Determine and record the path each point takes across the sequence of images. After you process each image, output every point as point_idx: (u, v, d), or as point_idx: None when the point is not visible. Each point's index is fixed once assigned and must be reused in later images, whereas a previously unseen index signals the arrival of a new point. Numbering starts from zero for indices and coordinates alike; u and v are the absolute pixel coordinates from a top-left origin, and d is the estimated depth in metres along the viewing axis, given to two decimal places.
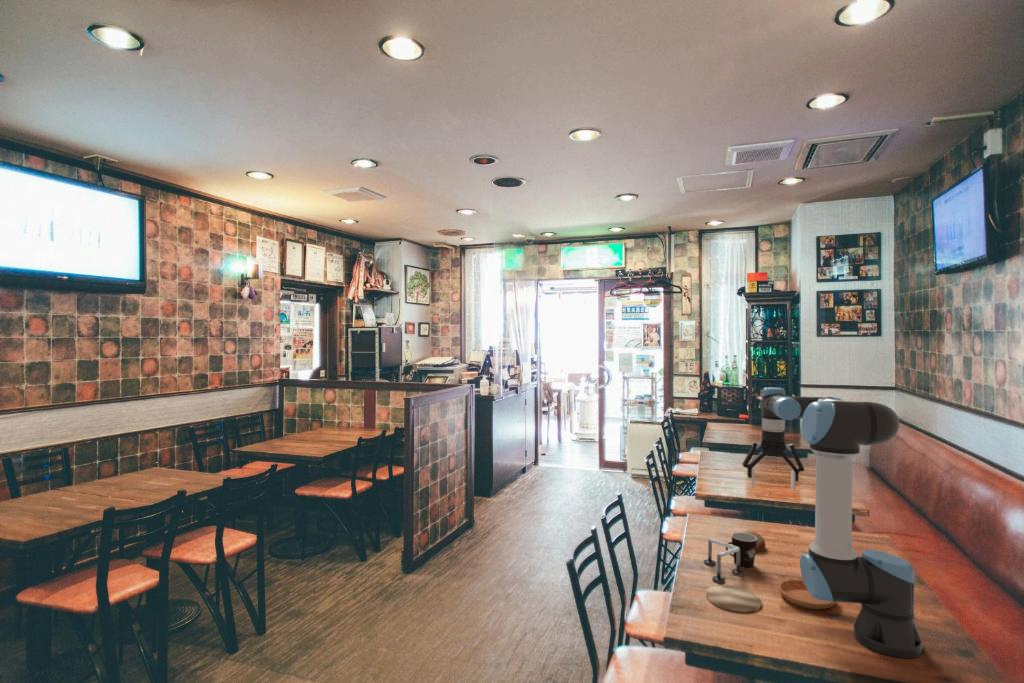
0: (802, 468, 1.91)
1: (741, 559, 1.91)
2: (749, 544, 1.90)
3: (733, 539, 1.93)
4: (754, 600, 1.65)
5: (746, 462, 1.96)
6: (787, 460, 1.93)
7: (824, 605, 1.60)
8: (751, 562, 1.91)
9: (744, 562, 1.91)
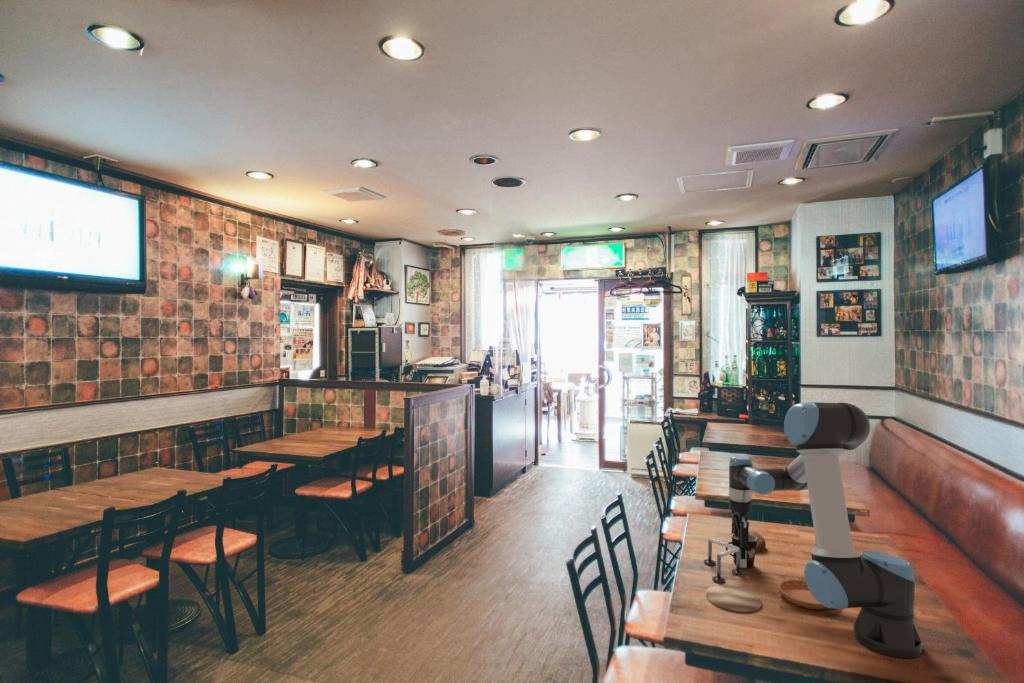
0: (740, 546, 1.88)
1: None
2: (749, 544, 1.90)
3: (733, 539, 1.93)
4: (754, 600, 1.65)
5: None
6: (738, 533, 1.91)
7: None
8: (751, 562, 1.91)
9: None
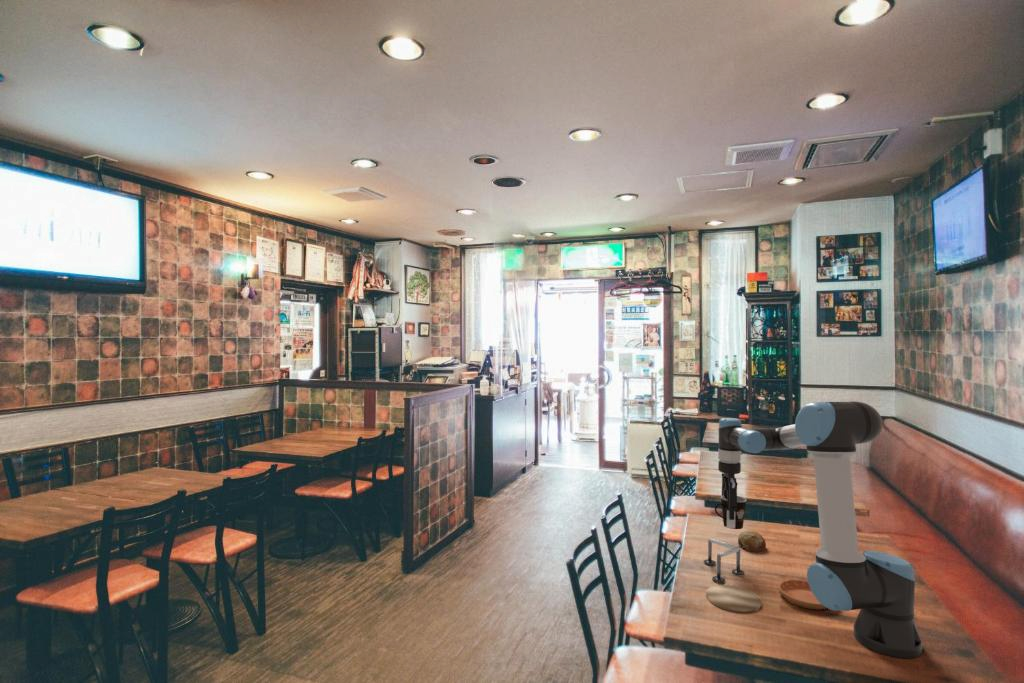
0: (729, 507, 1.88)
1: None
2: (738, 505, 1.90)
3: (722, 500, 1.94)
4: (754, 600, 1.65)
5: None
6: (727, 494, 1.92)
7: None
8: (740, 523, 1.91)
9: None
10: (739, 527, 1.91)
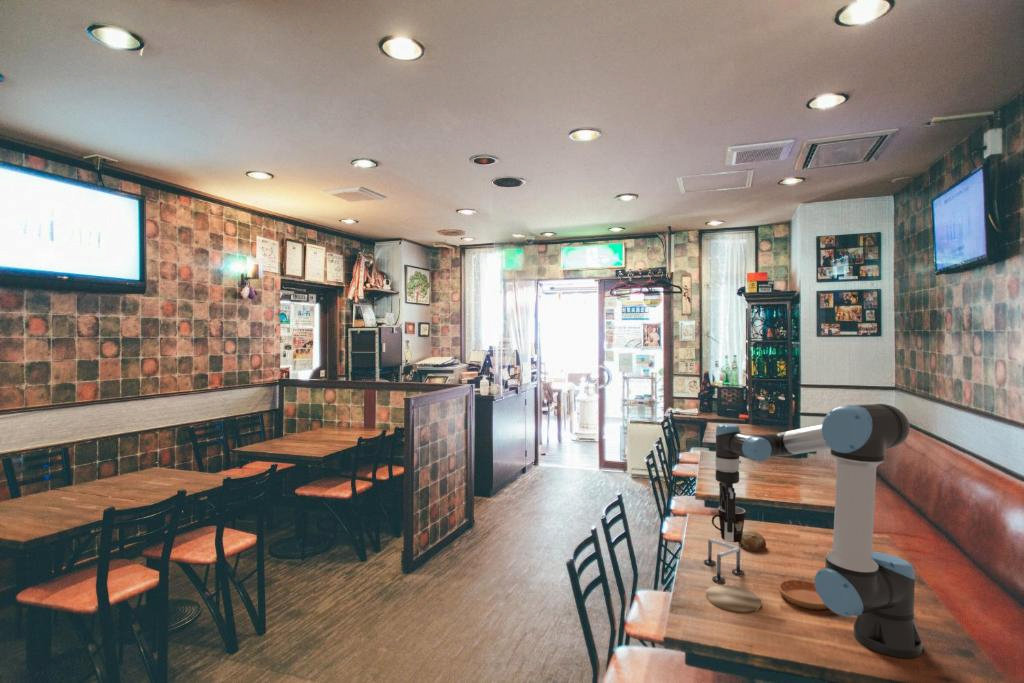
0: (727, 519, 1.77)
1: None
2: (736, 517, 1.79)
3: (720, 512, 1.82)
4: (754, 600, 1.65)
5: (719, 504, 1.89)
6: (725, 505, 1.80)
7: (824, 605, 1.60)
8: (739, 536, 1.80)
9: None
10: (738, 540, 1.80)
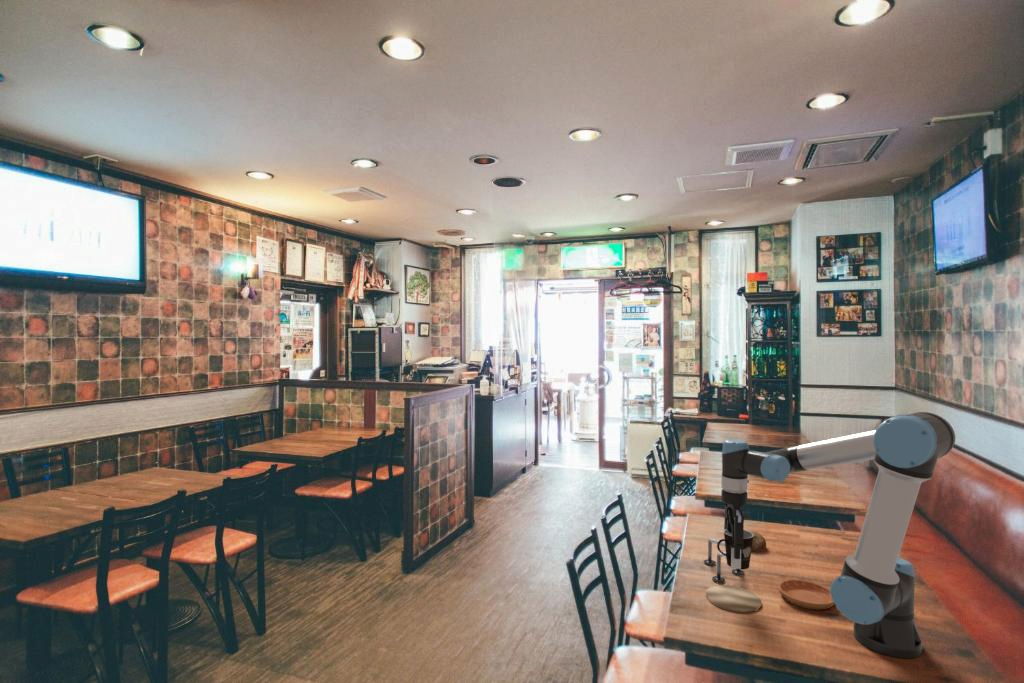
0: (734, 544, 1.62)
1: None
2: (744, 542, 1.63)
3: (726, 536, 1.67)
4: (754, 600, 1.65)
5: (724, 526, 1.74)
6: (732, 529, 1.65)
7: (824, 605, 1.60)
8: (746, 562, 1.65)
9: None
10: (745, 567, 1.65)
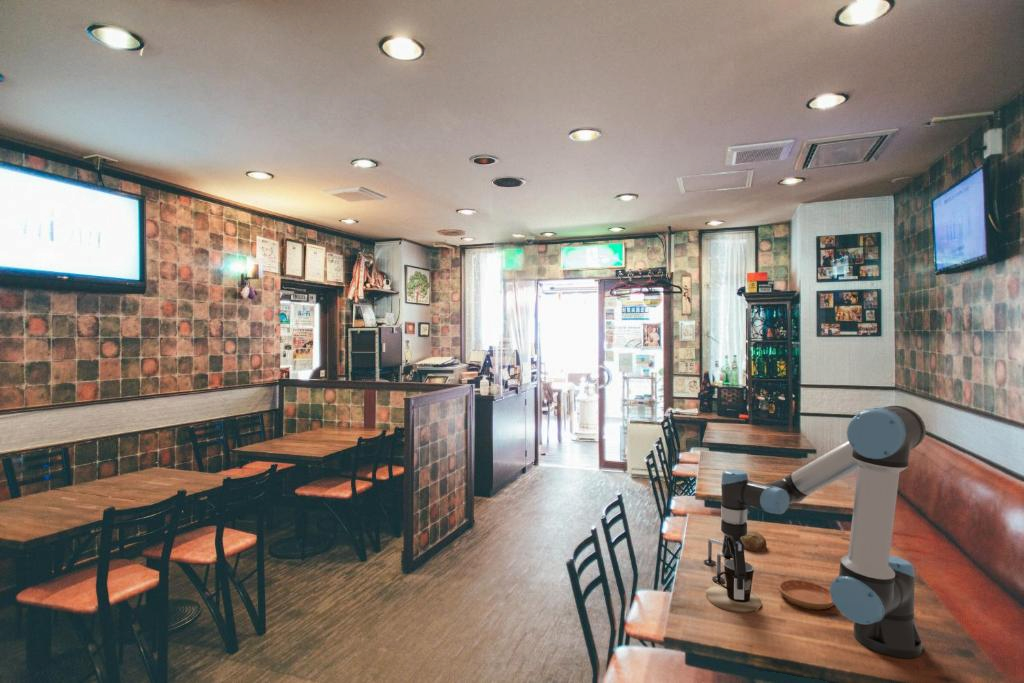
0: (737, 575, 1.59)
1: None
2: None
3: (726, 568, 1.67)
4: (754, 600, 1.65)
5: (722, 548, 1.77)
6: (733, 559, 1.64)
7: (825, 605, 1.60)
8: (747, 595, 1.64)
9: None
10: (746, 600, 1.65)
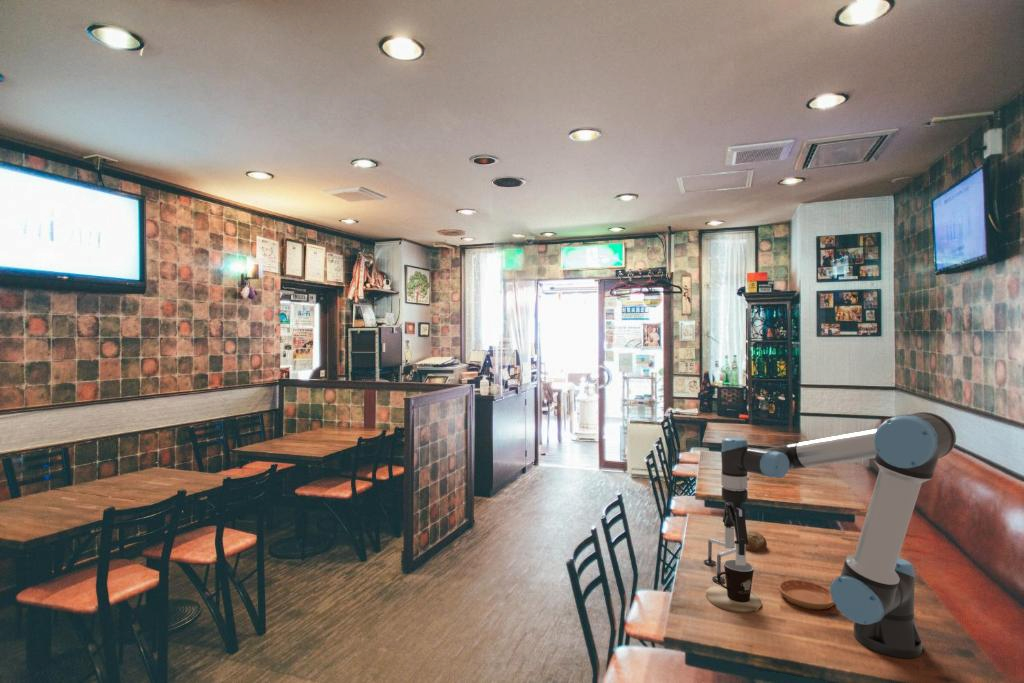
0: (738, 540, 1.58)
1: (735, 592, 1.65)
2: (744, 575, 1.63)
3: (726, 568, 1.67)
4: (754, 600, 1.65)
5: (723, 517, 1.77)
6: (734, 526, 1.63)
7: (824, 605, 1.60)
8: (747, 595, 1.64)
9: (739, 595, 1.64)
10: (746, 600, 1.65)
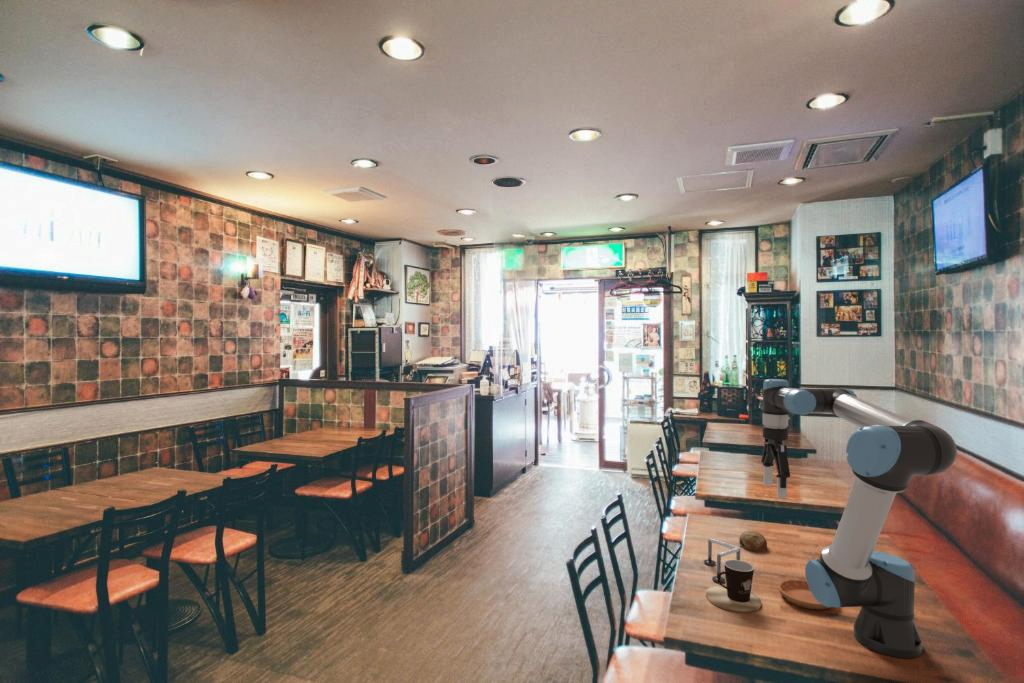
0: (781, 473, 1.66)
1: (735, 592, 1.65)
2: (744, 575, 1.63)
3: (726, 568, 1.67)
4: (754, 600, 1.65)
5: (762, 457, 1.84)
6: (775, 461, 1.71)
7: None
8: (747, 595, 1.64)
9: (739, 595, 1.64)
10: (746, 600, 1.65)
